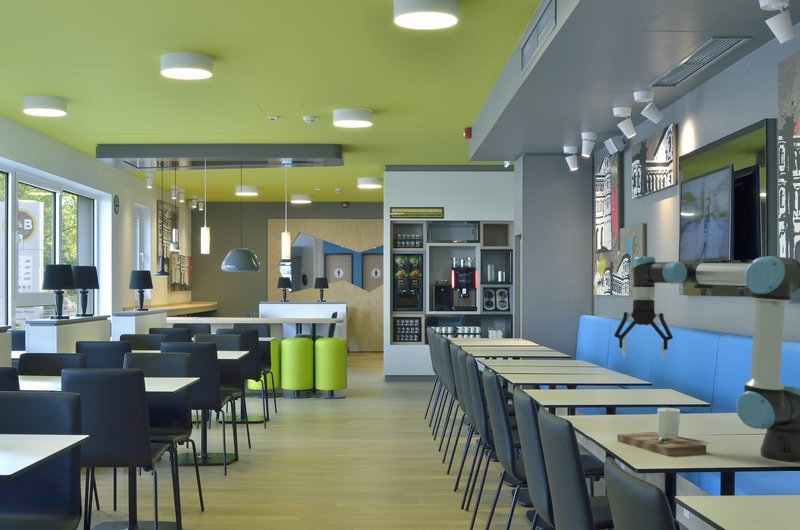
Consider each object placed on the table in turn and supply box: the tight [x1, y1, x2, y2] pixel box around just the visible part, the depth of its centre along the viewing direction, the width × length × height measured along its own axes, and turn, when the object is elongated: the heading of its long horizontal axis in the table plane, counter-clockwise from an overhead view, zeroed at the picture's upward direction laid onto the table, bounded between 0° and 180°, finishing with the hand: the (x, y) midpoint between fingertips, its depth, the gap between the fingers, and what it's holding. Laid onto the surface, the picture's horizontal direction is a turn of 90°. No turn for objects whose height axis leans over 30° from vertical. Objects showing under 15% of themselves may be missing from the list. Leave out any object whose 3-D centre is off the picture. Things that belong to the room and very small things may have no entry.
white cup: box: [657, 407, 681, 438], centre depth 304 cm, size 8×8×10 cm
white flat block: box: [657, 409, 668, 441], centre depth 282 cm, size 2×11×10 cm, turn 155°
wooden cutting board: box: [616, 431, 707, 457], centre depth 284 cm, size 26×16×3 cm, turn 22°
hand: (643, 358), depth 302 cm, fingers open, 13 cm apart
